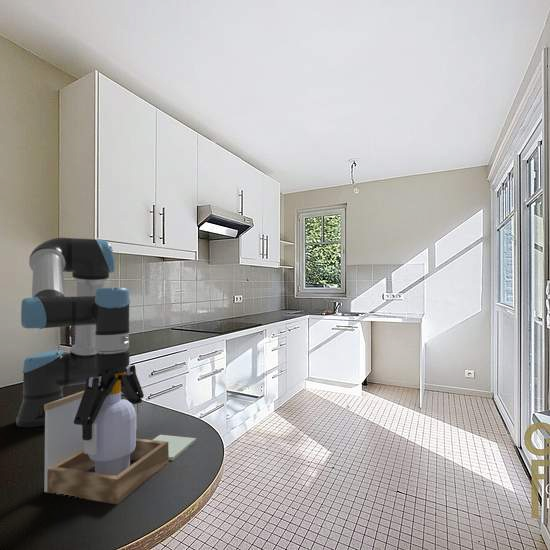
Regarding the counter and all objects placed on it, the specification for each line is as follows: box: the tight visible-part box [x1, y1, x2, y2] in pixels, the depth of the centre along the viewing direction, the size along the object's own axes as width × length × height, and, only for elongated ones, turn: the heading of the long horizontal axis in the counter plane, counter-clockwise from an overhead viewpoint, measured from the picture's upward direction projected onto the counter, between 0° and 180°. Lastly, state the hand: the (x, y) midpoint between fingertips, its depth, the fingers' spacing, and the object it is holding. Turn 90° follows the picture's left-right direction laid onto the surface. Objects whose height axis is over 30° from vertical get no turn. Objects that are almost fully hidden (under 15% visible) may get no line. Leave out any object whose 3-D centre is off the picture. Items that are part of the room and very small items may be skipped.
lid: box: [43, 389, 103, 493], centre depth 86 cm, size 1×19×19 cm, turn 164°
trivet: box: [152, 434, 197, 461], centre depth 97 cm, size 12×12×1 cm
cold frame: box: [47, 437, 170, 505], centre depth 83 cm, size 19×18×12 cm
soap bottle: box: [88, 372, 137, 476], centre depth 83 cm, size 10×10×24 cm
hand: (112, 440), depth 83 cm, fingers open, 13 cm apart
